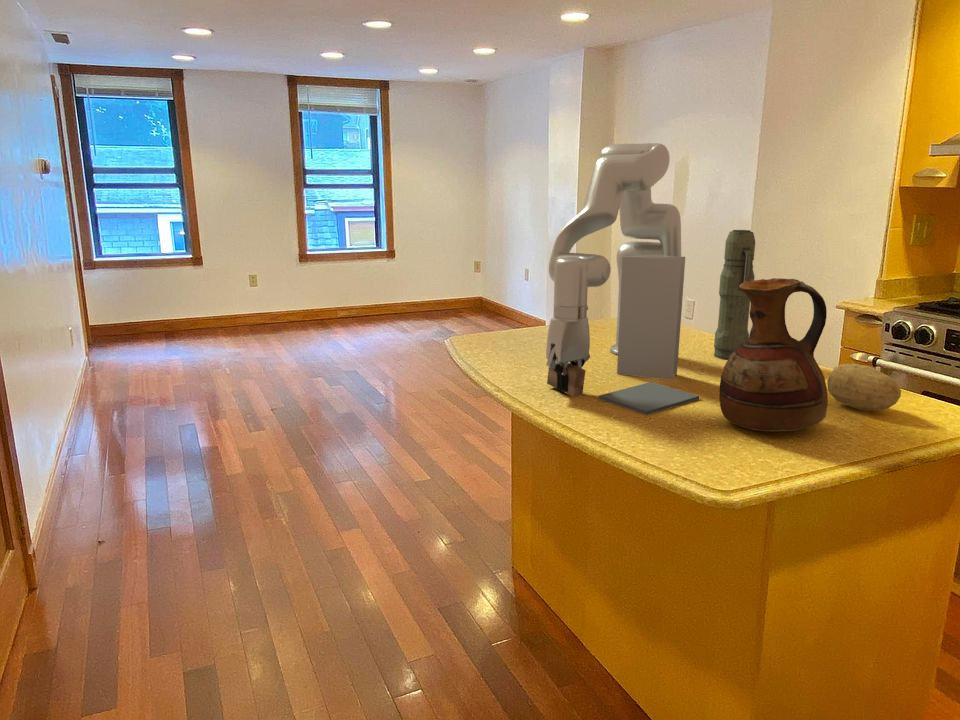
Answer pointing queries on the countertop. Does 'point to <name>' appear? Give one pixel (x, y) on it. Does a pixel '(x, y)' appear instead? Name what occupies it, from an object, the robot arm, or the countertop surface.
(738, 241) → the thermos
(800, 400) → the ceramic pitcher
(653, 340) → the thin beige panel
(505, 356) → the countertop surface
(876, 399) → the potato
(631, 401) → the mat
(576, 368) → the brown angular block
